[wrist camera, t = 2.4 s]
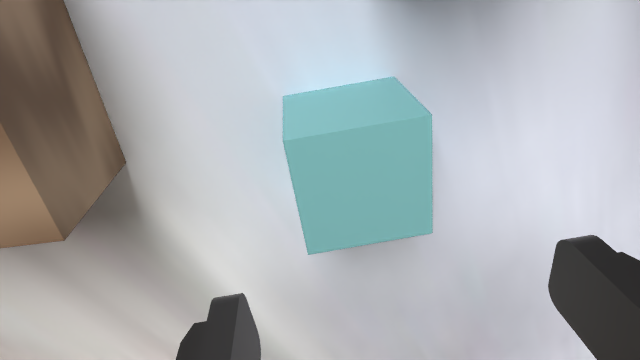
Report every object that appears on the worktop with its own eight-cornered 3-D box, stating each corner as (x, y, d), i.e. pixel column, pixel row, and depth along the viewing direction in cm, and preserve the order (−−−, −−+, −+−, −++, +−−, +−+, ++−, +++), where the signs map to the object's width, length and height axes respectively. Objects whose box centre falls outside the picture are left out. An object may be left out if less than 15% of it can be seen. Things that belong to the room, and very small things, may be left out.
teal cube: (282, 95, 17) (282, 140, 13) (393, 75, 17) (431, 114, 12) (302, 189, 19) (308, 254, 15) (399, 172, 19) (432, 233, 15)
